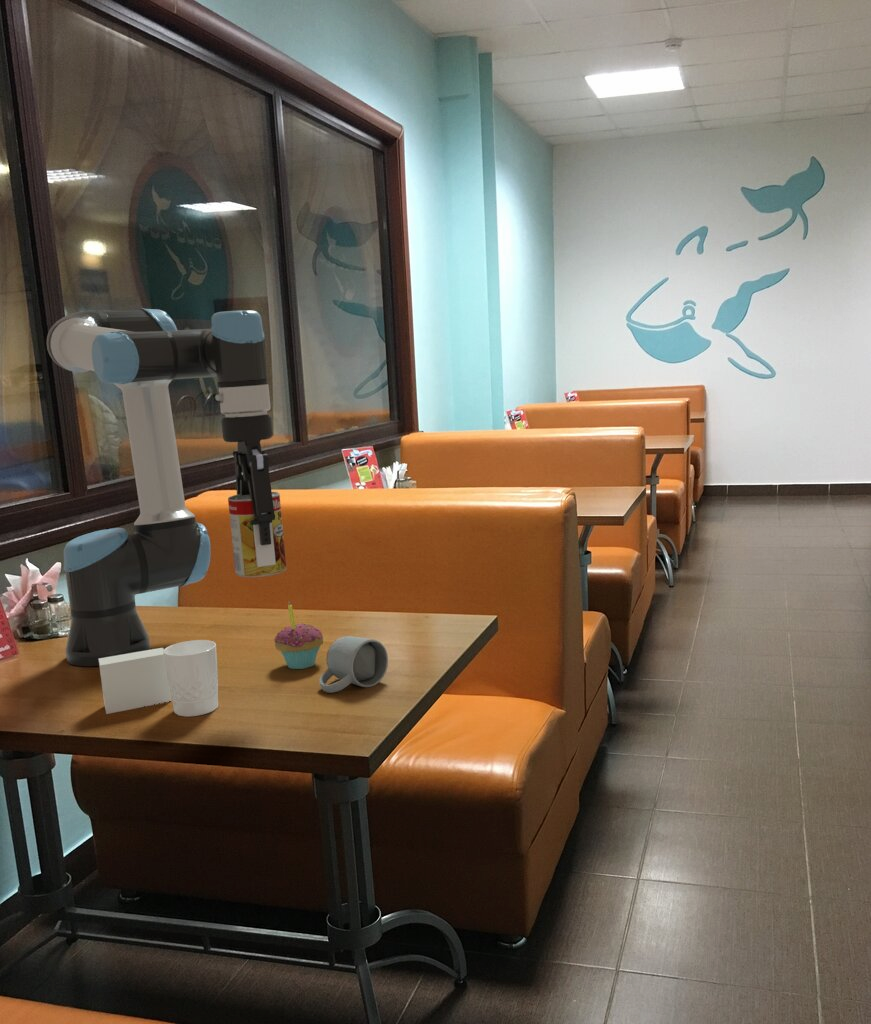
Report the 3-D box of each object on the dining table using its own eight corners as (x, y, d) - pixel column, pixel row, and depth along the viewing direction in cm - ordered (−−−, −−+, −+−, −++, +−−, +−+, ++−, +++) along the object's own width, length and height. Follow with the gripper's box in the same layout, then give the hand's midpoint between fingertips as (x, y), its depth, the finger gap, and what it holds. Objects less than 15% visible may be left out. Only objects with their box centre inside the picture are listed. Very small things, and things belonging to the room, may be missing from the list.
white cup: (201, 696, 153) (195, 637, 152) (232, 705, 148) (226, 644, 147) (160, 712, 147) (153, 650, 146) (191, 722, 142) (183, 658, 141)
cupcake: (310, 674, 161) (304, 605, 159) (267, 671, 164) (260, 604, 162) (333, 658, 169) (327, 592, 167) (291, 655, 172) (285, 591, 170)
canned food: (294, 570, 147) (287, 494, 145) (247, 579, 143) (239, 501, 141) (274, 563, 154) (267, 490, 152) (228, 571, 149) (220, 496, 148)
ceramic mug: (359, 670, 161) (355, 626, 160) (391, 679, 155) (386, 634, 154) (309, 689, 154) (304, 644, 153) (340, 699, 148) (335, 652, 147)
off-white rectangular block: (104, 706, 152) (98, 658, 151) (168, 694, 156) (162, 647, 155) (106, 714, 148) (100, 665, 147) (171, 701, 152) (166, 653, 151)
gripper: (209, 414, 152) (223, 553, 156) (234, 418, 133) (250, 576, 137) (255, 410, 155) (268, 546, 159) (286, 414, 136) (300, 568, 140)
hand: (260, 560), depth 148 cm, fingers closed on canned food, 8 cm apart
